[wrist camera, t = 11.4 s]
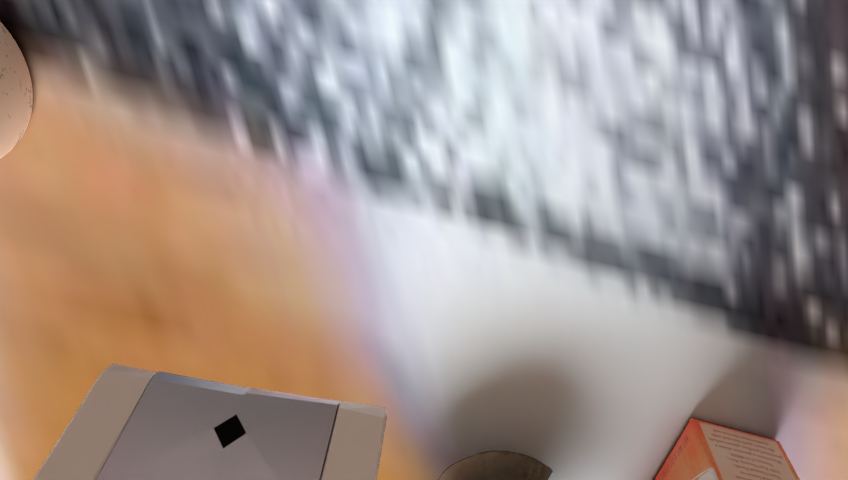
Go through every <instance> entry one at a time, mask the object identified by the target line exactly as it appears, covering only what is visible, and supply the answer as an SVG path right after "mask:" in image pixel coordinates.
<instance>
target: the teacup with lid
mask: <svg viewBox="0 0 848 480" xmlns="http://www.w3.org/2000/svg"><path fill="white" fill-rule="evenodd" d="M32 107H33V88H32V82H31V77H30V73H29V69H28V67H27V64H26V61H25V59H24V57H23V54H22V52H21V50H20V48H19V47H18V45H17V43H16V41H15V40H14V39H13V37H12V36H11V34H10V33H9V31H8V30H7V29H6V28H5V26H4V25H3V24H2V23H1V22H0V159H1V158H2V157H3V156H5V155H6V154H7V153H9V152H10V151H11V150H12V149H13V148H14V147H15V146H16V145H17V143H18V142H19V141H20V139H21V138H22V137H23V135H24V133H25V131H26V129H27V127H28V124H29V121H30V118H31V113H32Z"/></svg>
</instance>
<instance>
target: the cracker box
mask: <svg viewBox="0 0 848 480" xmlns="http://www.w3.org/2000/svg"><path fill="white" fill-rule="evenodd" d="M654 480H800V479H799V477H798V476H797V474H796V472H795V470H794V468H793V466H792V464H791V462H790V460H789V459H788V457H787V455H786V453H785V452H784V450H783V448H782V446H781V444H780V442H779V441H776V440H773V439H769V438H766V437H762V436H758V435H754V434H750V433H746V432H742V431H739V430H735V429H731V428H727V427H724V426H720V425H716V424H712V423H708V422H704V421H701V420H697V419H694V418H691V419H690V420H689V423H688V424H687V426H686V428H685V429H684V432H683V433H682V435H681V437H680V438H679V440H678V441H677V443H676V445H675V446H674V448H673V450H672V451H671V453H670V454H669V456H668V458H667V459H666V461H665V463H664V465H663V466H662V468H661V470H660V471H659V473H658V475H657V476H656V478H655V479H654Z"/></svg>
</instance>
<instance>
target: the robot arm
mask: <svg viewBox="0 0 848 480" xmlns="http://www.w3.org/2000/svg"><path fill="white" fill-rule="evenodd" d="M386 419H387V410H386V408H383V407H377V406H370V405H363V404H356V403H350V402H343V401H341V403H340V401H335V400H329V399H322V398H315V397H309V396H302V395H295V394H289V393H282V392H276V391H269V390H262V389H256V388H246V387H240V386H235V385H230V384H224V383H219V382H213V381H208V380H203V379H197V378H192V377H187V376H181V375H176V374H170V373H165V372H154V371H149V370H143V369H138V368H133V367H128V366H123V365H117V364H112V365H111V366H109V367H108V368H107V369H105V370H104V371H103V372H102V373H100V375H99V376H98V378H97V380H96V381H95V383H94V384H93V386H92V387H91V389H90V391H89V392H88V394H87V395H86V397H85V398H84V400H83V402H82V403H81V405H80V406H79V408H78V409H77V411H76V413H75V414H74V416H73V417H72V419H71V420H70V422H69V424H68V425H67V427H66V428H65V430H64V431H63V433H62V435H61V436H60V438H59V439H58V441H57V442H56V444H55V446H54V447H53V449H52V450H51V452H50V453H49V455H48V457H47V458H46V460H45V461H44V463H43V464H42V466H41V468H40V469H39V471H38V472H37V474H36V475H35V477H34V479H33V480H377V474H378V468H379V462H380V456H381V450H382V443H383V437H384V431H385V425H386Z"/></svg>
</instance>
